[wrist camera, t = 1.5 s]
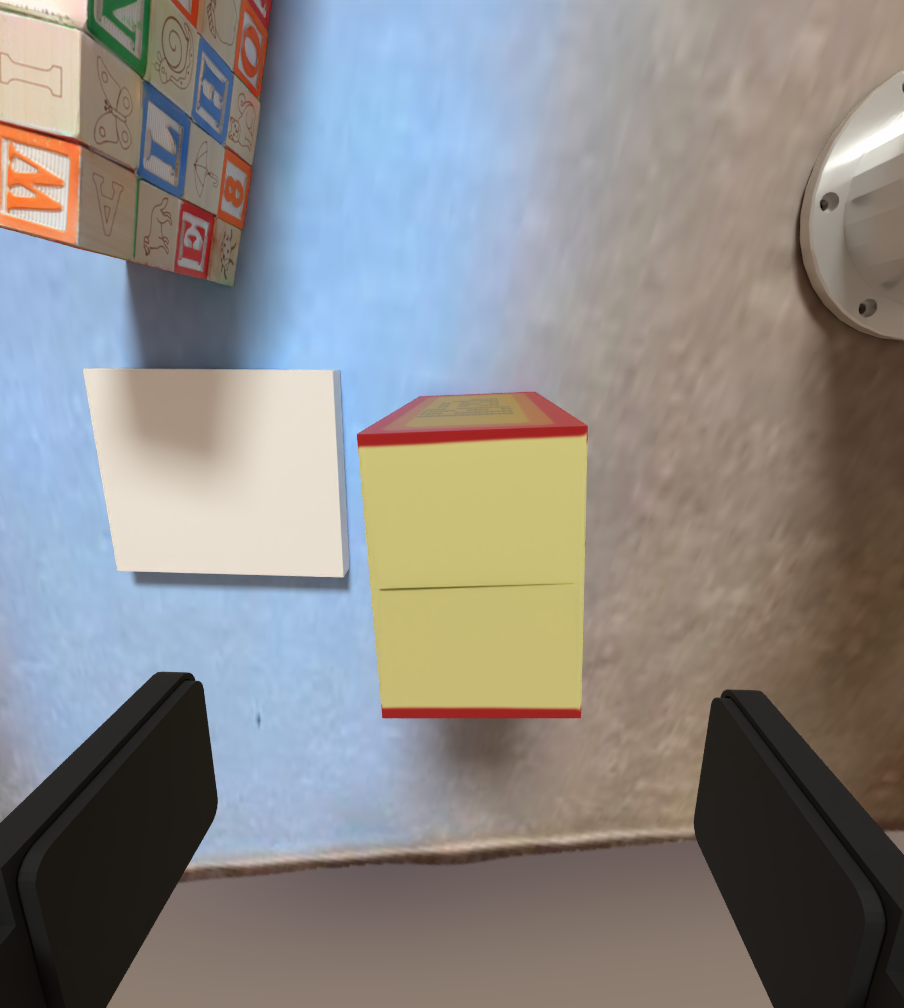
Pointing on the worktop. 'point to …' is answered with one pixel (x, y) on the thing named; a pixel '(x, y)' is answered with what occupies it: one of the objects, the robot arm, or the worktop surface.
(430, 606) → the baking soda box
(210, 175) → the stack of blocks
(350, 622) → the worktop surface
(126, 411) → the cutting board
